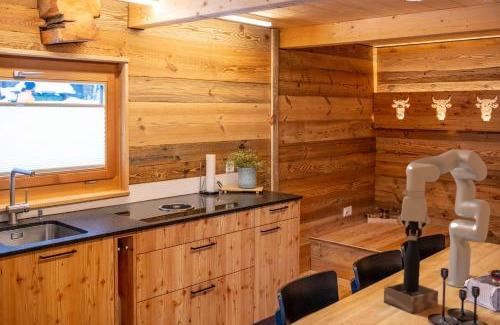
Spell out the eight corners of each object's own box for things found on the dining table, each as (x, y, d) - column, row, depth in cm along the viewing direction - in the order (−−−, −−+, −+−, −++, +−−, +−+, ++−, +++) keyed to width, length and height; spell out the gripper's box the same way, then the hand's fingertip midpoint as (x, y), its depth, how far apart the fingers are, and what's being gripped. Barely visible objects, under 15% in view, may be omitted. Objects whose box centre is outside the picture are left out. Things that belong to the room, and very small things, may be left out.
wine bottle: (400, 288, 252) (403, 220, 249) (412, 287, 254) (415, 220, 251) (409, 293, 246) (412, 223, 243) (421, 291, 248) (424, 223, 245)
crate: (408, 296, 262) (409, 281, 261) (437, 307, 249) (438, 291, 248) (383, 302, 253) (384, 287, 252) (412, 314, 240) (412, 297, 239)
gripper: (393, 193, 246) (391, 236, 248) (434, 197, 238) (431, 240, 240) (397, 191, 253) (395, 232, 254) (437, 194, 245) (434, 237, 247)
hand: (413, 236), depth 247 cm, fingers closed on wine bottle, 3 cm apart
